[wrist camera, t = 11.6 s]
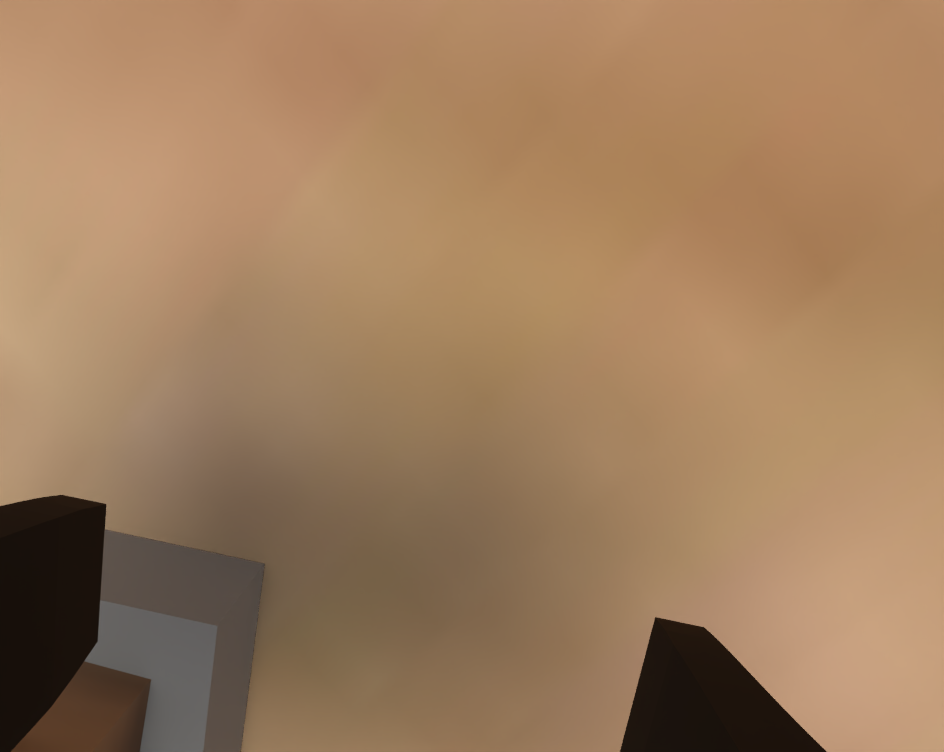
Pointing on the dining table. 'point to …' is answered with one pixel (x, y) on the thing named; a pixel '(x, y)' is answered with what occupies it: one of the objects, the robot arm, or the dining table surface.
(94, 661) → the pedestal block
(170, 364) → the dining table surface
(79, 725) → the walnut block
